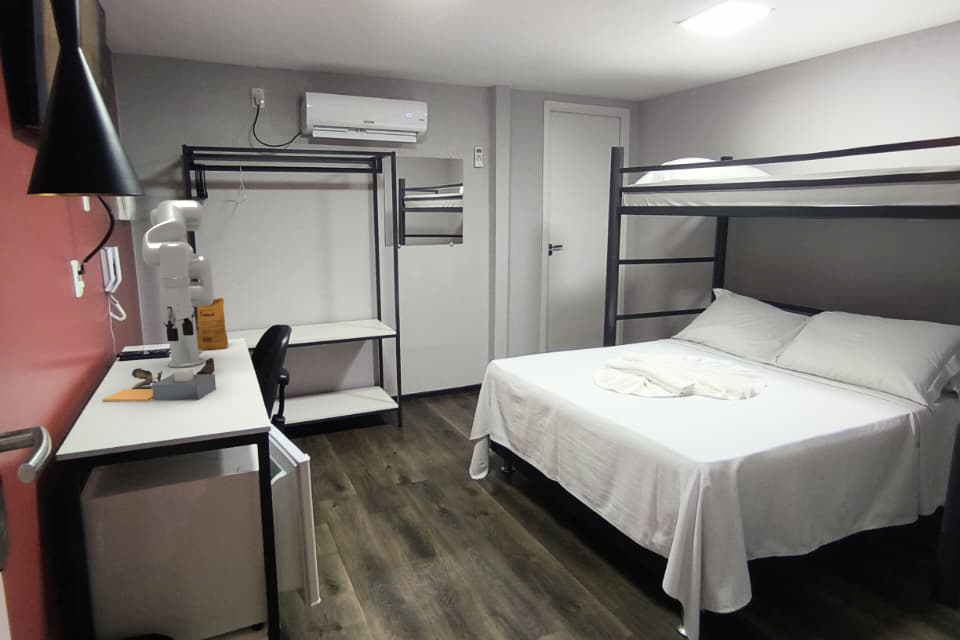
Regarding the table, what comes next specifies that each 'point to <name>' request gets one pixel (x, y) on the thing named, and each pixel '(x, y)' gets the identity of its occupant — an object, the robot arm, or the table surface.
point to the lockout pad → (131, 395)
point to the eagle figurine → (145, 377)
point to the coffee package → (211, 326)
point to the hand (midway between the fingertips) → (181, 337)
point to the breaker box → (184, 388)
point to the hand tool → (207, 367)
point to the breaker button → (183, 375)
